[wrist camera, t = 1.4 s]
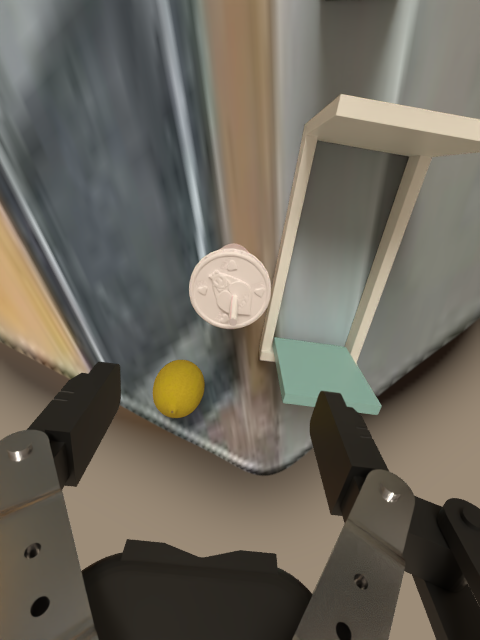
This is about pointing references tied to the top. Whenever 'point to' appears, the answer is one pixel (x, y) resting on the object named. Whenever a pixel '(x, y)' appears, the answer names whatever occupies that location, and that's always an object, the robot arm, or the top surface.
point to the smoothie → (230, 287)
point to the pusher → (321, 375)
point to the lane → (420, 145)
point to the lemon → (178, 388)
